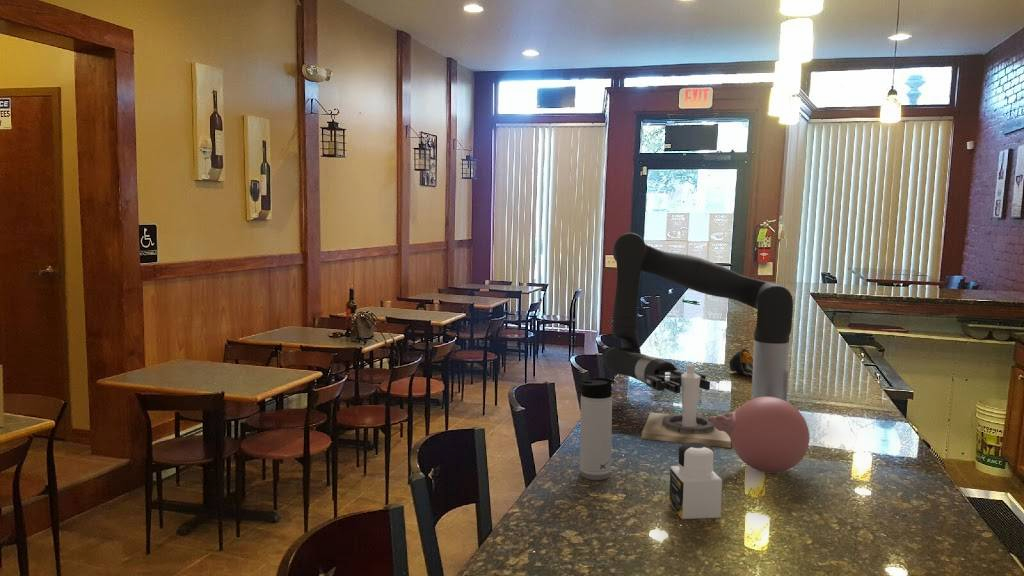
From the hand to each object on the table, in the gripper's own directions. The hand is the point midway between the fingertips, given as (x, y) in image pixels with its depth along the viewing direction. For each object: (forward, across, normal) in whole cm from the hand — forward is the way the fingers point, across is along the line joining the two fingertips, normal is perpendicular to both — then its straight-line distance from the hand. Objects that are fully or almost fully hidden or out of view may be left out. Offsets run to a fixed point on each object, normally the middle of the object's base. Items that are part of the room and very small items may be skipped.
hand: (694, 387), depth 164 cm
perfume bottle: (-2, 0, +10) cm, 10 cm away
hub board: (-2, 0, +12) cm, 12 cm away
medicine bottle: (+35, -26, +12) cm, 45 cm away
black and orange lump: (-40, +54, +12) cm, 68 cm away
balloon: (+23, -1, +12) cm, 26 cm away
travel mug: (+14, -34, +12) cm, 39 cm away
